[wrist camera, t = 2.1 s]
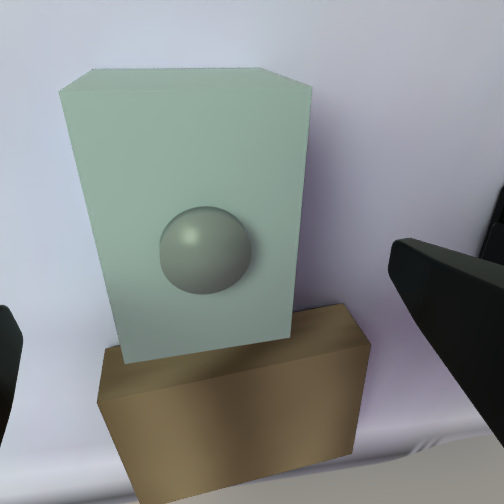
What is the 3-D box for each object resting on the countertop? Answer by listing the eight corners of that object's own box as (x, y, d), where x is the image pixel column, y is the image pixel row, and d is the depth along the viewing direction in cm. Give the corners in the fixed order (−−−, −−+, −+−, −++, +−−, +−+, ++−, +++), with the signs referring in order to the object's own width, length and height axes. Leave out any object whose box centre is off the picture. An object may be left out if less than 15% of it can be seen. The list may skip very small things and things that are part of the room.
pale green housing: (260, 67, 13) (321, 89, 8) (256, 261, 17) (295, 349, 12) (92, 68, 12) (51, 96, 7) (132, 275, 16) (123, 379, 11)
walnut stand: (342, 303, 19) (371, 344, 17) (331, 409, 24) (351, 453, 21) (105, 348, 17) (96, 402, 15) (143, 454, 22) (142, 509, 19)
